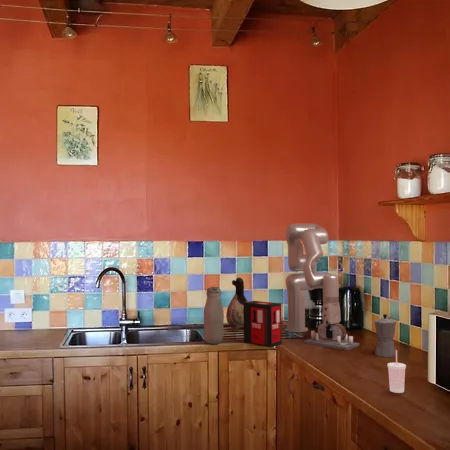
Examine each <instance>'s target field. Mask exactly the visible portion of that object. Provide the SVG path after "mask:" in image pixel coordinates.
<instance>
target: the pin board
mask: <svg viewBox="0 0 450 450" xmlns="http://www.w3.org/2000/svg"><path fill="white" fill-rule="evenodd" d="M304 344H307V345H313V346H320V347H326V348H333V349H338V350H343V349H344V351H349V350H352V349H354V348H357V347H359V346H360V342H354V336H352V335H349V336H348V334H347V333H346V337H345V339H344V340H342V341H341V336H337V341H333V340H326V339H322V338H321V337H320V336H319V333H318V332H316V331H315V330H311V331H310V338H308V339H306V340H305V339H304Z"/></svg>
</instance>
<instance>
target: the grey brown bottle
mask: <svg viewBox="0 0 450 450" xmlns="http://www.w3.org/2000/svg"><path fill="white" fill-rule="evenodd" d="M221 291H222V290H221V288H219V287H218V286H217V287H216V286H211V287H209V288H207V289H206V300H205V305H204V309H203V337H204V340H205V342H206V343H207V344H210V345H217V344H219V343H221V342H222V341H223V339H224V321H225V320H224V319H225V315H224V308H223V303H222V302H223V301H222V298H221V297H222V292H221Z"/></svg>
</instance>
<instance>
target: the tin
mask: <svg viewBox="0 0 450 450" xmlns="http://www.w3.org/2000/svg"><path fill="white" fill-rule="evenodd" d="M329 326H330V325H329ZM316 328H317V330H316V331H317V333H319V337H321V338H322V339H326V340H333V341H337V336H341V341H344V339H345V337H346V334H347V329H346V327H345V326H344V325H343V324H341V323H336V324H332V330H333V338H332V339H330V338H326V328H325V327H324V326H323V322H321V323H319V324H318V325H317V327H316Z"/></svg>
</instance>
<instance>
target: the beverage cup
mask: <svg viewBox="0 0 450 450" xmlns="http://www.w3.org/2000/svg"><path fill="white" fill-rule="evenodd" d="M395 351H396V356H395V362H388V363H387V370H388V381H389V392H392V393H397V394H401V393H404V392H405V380H406V379H405V378H406V368H407V365H406V364H405V363H401V362H398V350H397V349H395Z"/></svg>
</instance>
